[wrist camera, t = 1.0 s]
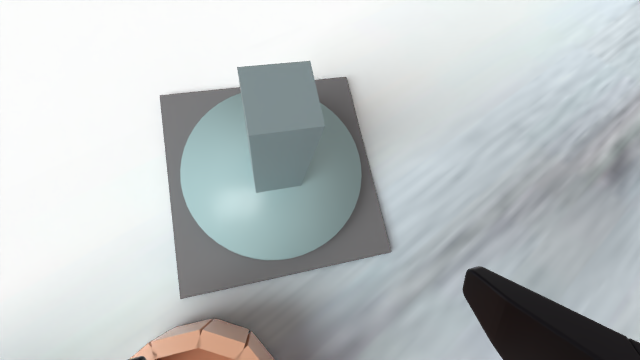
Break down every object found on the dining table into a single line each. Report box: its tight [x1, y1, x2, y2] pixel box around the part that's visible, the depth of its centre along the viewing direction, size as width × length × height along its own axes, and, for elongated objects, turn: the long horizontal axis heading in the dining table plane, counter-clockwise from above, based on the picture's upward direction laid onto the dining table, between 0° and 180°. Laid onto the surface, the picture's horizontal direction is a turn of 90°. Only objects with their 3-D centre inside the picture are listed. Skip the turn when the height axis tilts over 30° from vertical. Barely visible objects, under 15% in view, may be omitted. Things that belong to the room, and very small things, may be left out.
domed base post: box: [180, 61, 362, 260], centre depth 18 cm, size 12×12×10 cm
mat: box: [160, 77, 391, 299], centre depth 23 cm, size 14×14×1 cm
